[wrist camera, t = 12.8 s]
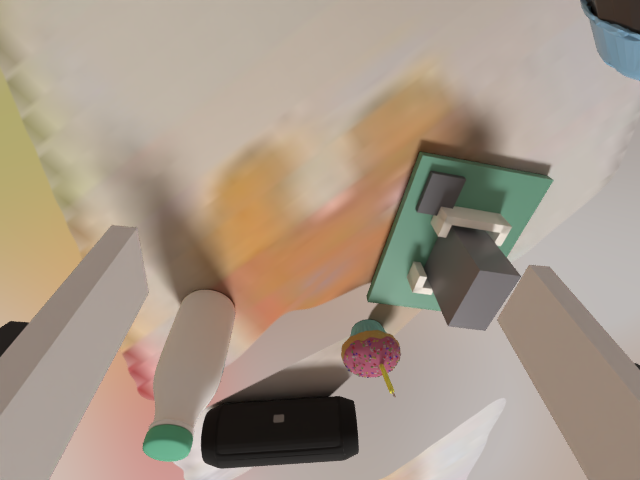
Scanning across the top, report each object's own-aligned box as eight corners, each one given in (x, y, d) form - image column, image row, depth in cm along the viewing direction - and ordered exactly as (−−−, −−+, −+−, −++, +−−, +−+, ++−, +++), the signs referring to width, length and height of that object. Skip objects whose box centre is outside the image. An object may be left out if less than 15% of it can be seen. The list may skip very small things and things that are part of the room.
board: (419, 151, 40) (430, 166, 37) (547, 175, 42) (569, 191, 39) (366, 296, 52) (371, 317, 49) (468, 309, 54) (479, 330, 51)
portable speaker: (352, 383, 64) (359, 440, 56) (352, 414, 70) (359, 470, 61) (208, 392, 64) (194, 451, 56) (220, 423, 70) (208, 480, 61)
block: (446, 218, 44) (480, 270, 36) (480, 224, 44) (521, 276, 36) (420, 275, 49) (444, 332, 40) (451, 279, 49) (481, 336, 41)
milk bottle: (173, 291, 50) (109, 436, 34) (227, 283, 50) (189, 426, 33) (192, 329, 55) (144, 474, 38) (242, 322, 54) (215, 465, 38)
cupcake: (380, 302, 53) (398, 373, 43) (402, 336, 57) (423, 407, 47) (329, 324, 55) (335, 396, 45) (354, 355, 59) (364, 427, 50)
